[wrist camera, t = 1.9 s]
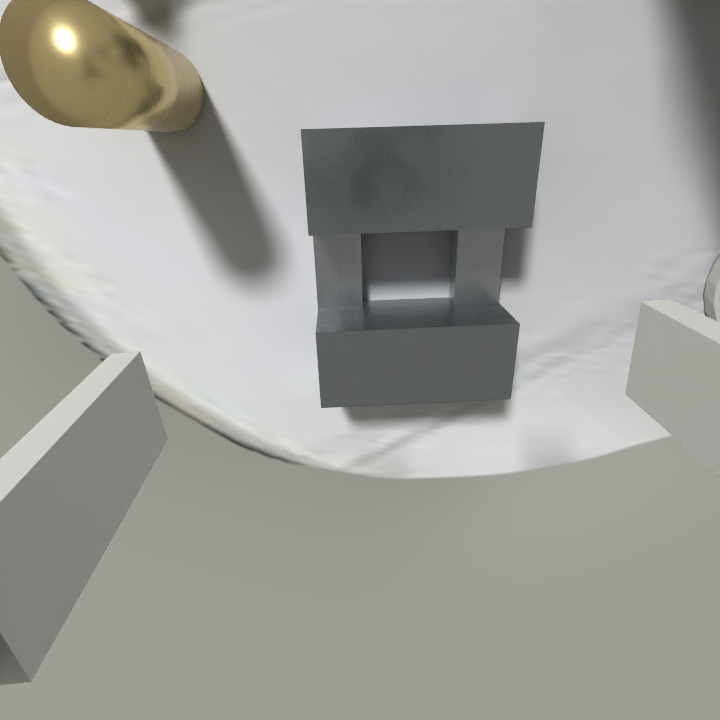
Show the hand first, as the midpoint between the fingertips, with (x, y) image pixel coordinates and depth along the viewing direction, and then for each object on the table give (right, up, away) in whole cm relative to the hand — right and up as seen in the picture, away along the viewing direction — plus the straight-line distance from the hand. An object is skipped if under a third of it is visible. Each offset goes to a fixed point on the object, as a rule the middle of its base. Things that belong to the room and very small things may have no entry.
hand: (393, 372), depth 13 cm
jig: (+2, +8, +21) cm, 23 cm away
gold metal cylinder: (-13, +17, +16) cm, 27 cm away
